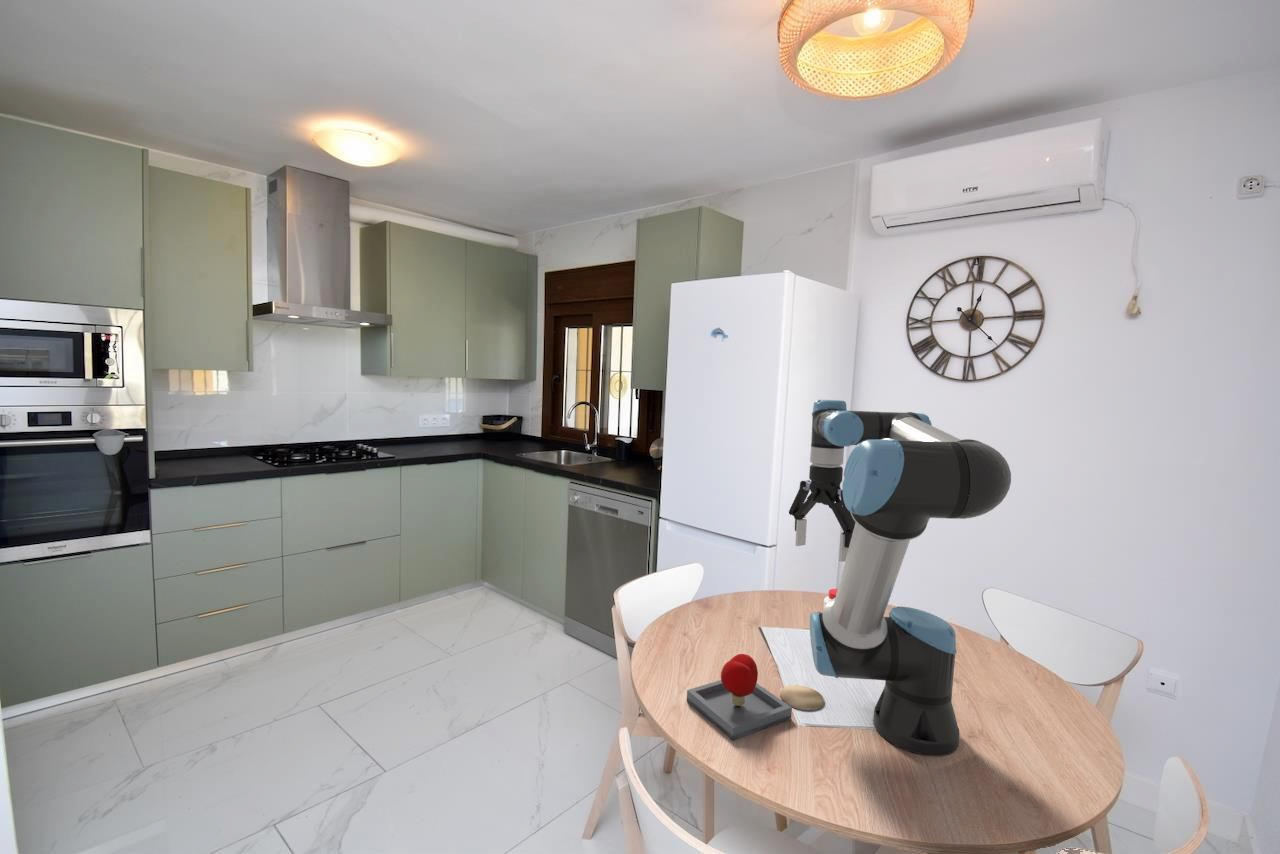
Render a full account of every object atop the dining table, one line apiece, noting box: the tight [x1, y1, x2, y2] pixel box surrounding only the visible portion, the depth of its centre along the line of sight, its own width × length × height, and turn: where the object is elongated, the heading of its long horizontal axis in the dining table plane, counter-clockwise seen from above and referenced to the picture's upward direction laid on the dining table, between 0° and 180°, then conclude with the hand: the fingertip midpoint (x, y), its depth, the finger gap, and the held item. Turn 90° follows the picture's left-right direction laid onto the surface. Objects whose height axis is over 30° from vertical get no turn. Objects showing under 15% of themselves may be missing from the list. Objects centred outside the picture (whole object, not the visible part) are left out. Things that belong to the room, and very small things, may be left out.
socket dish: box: [686, 679, 793, 741], centre depth 119 cm, size 15×15×2 cm
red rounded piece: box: [720, 653, 759, 707], centre depth 118 cm, size 9×7×10 cm
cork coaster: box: [779, 684, 825, 711], centre depth 124 cm, size 9×9×1 cm
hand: (821, 552), depth 139 cm, fingers open, 13 cm apart
